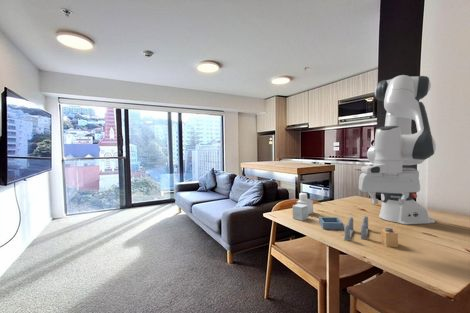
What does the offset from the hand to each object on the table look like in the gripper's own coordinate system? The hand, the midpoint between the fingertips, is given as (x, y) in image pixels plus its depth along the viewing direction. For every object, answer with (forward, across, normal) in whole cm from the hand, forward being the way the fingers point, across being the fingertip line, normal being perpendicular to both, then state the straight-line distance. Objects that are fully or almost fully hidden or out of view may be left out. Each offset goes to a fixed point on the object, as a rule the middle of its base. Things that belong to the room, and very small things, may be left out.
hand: (388, 203), depth 84 cm
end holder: (+16, +17, -20) cm, 30 cm away
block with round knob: (+16, 0, 0) cm, 16 cm away
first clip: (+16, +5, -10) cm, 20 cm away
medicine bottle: (+16, +26, -42) cm, 51 cm away
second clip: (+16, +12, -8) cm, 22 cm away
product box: (+16, +30, -30) cm, 46 cm away
